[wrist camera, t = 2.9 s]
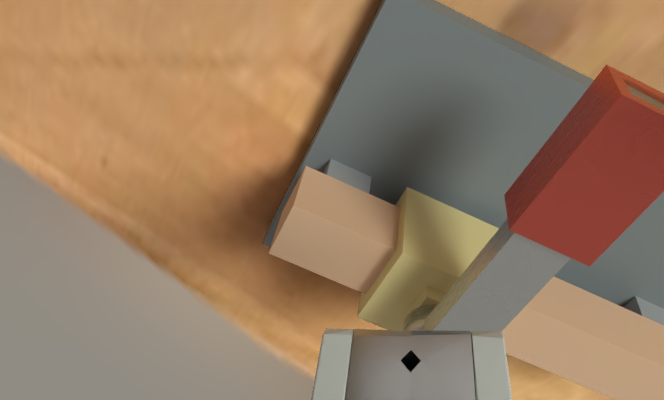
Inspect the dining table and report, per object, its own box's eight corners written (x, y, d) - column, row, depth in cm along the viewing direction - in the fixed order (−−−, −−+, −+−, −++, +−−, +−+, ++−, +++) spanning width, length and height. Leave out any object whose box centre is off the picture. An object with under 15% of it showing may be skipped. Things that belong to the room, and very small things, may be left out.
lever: (451, 360, 26) (452, 405, 24) (389, 334, 25) (386, 378, 24) (687, 101, 18) (713, 140, 16) (603, 58, 18) (621, 94, 16)
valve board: (811, 189, 27) (908, 307, 22) (599, 370, 35) (630, 490, 30) (392, -21, 24) (379, 52, 19) (267, 228, 33) (232, 330, 27)
